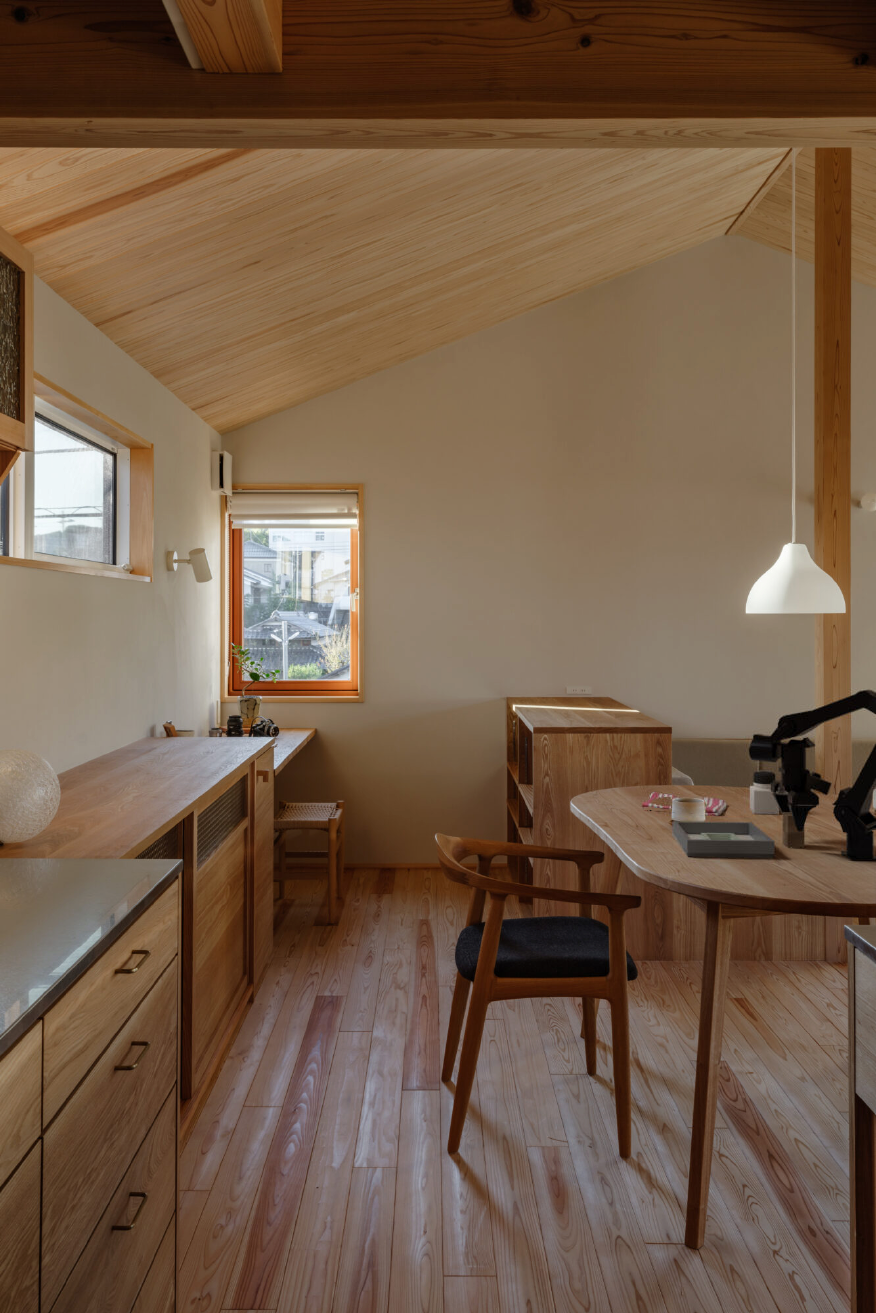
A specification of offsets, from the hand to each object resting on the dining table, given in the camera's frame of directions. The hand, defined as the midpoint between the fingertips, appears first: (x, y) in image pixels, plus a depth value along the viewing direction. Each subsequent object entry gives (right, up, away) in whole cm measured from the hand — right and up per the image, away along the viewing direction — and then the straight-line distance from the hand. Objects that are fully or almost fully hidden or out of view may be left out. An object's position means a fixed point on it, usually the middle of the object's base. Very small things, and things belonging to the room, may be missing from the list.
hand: (793, 826), depth 208 cm
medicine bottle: (+8, -4, +40) cm, 41 cm away
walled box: (-18, -5, 0) cm, 19 cm away
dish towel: (-13, -5, +47) cm, 49 cm away
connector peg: (0, -5, 0) cm, 5 cm away
